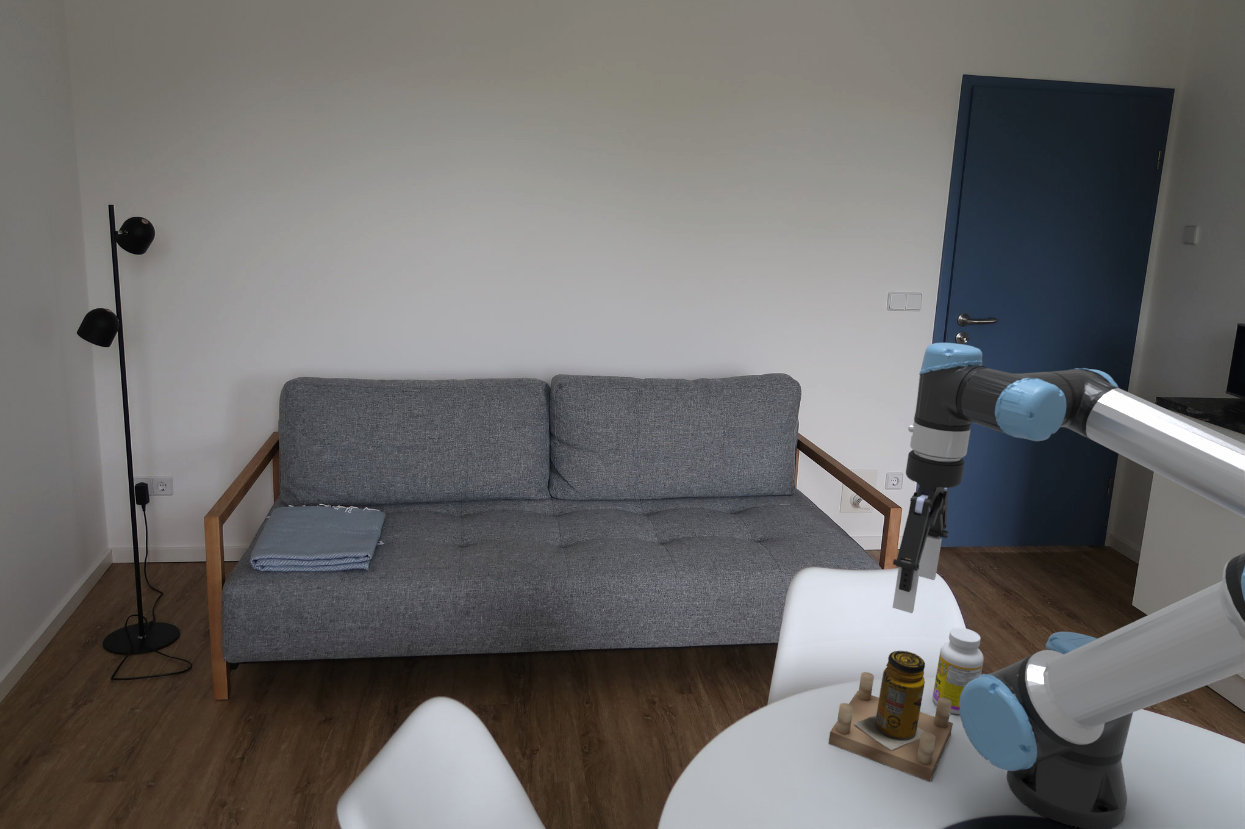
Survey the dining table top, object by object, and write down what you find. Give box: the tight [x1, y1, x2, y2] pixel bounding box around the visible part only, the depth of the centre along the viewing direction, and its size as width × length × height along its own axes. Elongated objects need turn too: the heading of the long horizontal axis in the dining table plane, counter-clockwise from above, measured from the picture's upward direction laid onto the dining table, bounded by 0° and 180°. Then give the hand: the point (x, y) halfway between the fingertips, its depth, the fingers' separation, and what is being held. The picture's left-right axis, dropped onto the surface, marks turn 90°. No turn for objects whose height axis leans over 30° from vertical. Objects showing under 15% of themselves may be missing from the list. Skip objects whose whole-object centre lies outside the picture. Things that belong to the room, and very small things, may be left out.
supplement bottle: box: [932, 627, 985, 715], centre depth 145 cm, size 7×7×13 cm
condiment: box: [854, 650, 926, 750], centre depth 133 cm, size 7×8×12 cm
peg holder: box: [828, 671, 954, 782], centre depth 135 cm, size 15×14×6 cm
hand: (914, 592), depth 130 cm, fingers open, 13 cm apart
